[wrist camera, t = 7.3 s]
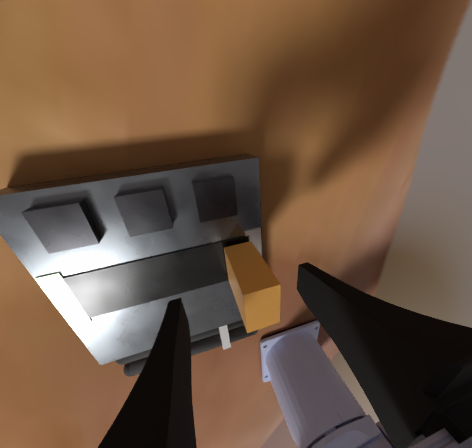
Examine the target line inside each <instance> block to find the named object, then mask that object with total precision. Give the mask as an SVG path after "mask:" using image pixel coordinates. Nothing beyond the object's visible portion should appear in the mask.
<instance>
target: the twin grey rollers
mask: <svg viewBox="0 0 472 448" xmlns="http://www.w3.org/2000/svg"><path fill="white" fill-rule="evenodd" d="M257 331H258V330H256V331H253V332H250V333H247V331H246V328H245V326H244V323H243V320H240V321H237V322H234V323H231V324H228V325H225V326H222V327H218V328H215V329H212V330H209V331H206V332H203V333H200V334H197V335H193V336H190V338H191V356H193V355H196V354H198V353H201V352H204V351H207V350H210V349H213V348H216V347H219V346H223V350H224V349H227V348H230V347H231V345H230V343H231V342H234V341H237V340H240V339H243V338H246V337H249V336H251V335H254V334H256V333H257ZM150 351H151V349H150V350H146V351H143V352H140V353H137V354H134V355H131V356H128V357H125V358H121V359H118V360H116V362H117V363H118V364H121V365H123V364H125V366H124V373H125V375H127V376H134V375H137V374H140V373H141V371H142V369H143V367H144V365H145V363H146V360H147V358H148V356H149V354H150Z"/></svg>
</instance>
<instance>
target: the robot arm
mask: <svg viewBox="0 0 472 448" xmlns="http://www.w3.org/2000/svg"><path fill="white" fill-rule="evenodd" d="M297 290H298V292H299V294H300V295H301V297H302V299H303V300H304V302H305V304H306V305H307V307H308V308H309V309H310V311H311V312H312V313H313V315H314V316H315V317H316V319H317V320H318V321H313V322H310V323H307V324H304V325H302V326H299V327H296V328H293V329H290V330H287V331H284V332H281V333H279V334H276V335H273V336H270V337H267V338H264V339H262V340H261V341H260V349H261V366H262V380H263V382H268V381H271V384H272V386H273V389H274V391H275V394H276V397H277V399H278V402H279V405H280V407H281V410H282V413H283V415H284V418H285V421H286V423H287V426H288V429H289V431H290V433H291V436H292V437H293V439H294V441H295V442H296V444H297V446H298V448H472V328H470V327H466V326H461V325H458V324H454V323H450V322H446V321H442V320H439V319H435V318H432V317H429V316H425V315H422V314H419V313H416V312H413V311H410V310H407V309H404V308H401V307H398V306H395V305H393V304H390V303H388V302H385V301H383V300H380V299H378V298H376V297H373V296H371V295H369V294H366V293H364V292H362V291H360V290H358V289H356V288H354V287H352V286H350V285H348V284H346V283H344V282H342V281H340V280H338V279H337V278H335V277H333V276H331V275H329V274H327V273H326V272H324V271H322V270H320V269H319V268H317V267H315V266H313V265H311V264H309V263H308V262H307V263H304V264H300V265H299V267H298V280H297ZM320 324H321V325H322V327H323V328H324V329H325V330H326V332H327V333H328V334H329V336H330V337H331V339H332V340H333V341H334V343H335V344H336V346H337V347H338V349H339V351H340V352H341V354H342V355H343V357H344V359H345V360H346V362H347V363H348V365H349V367H350V368H351V370H352V372H353V373H354V375H355V377H356V379H357V380H358V382H359V384H360V386H361V387H362V389H363V391H364V392H365V394H366V396H367V398H368V399H369V401H370V403H371V405H372V407H373V409H374V411H375V413H376V415H377V416H378V418H379V420H380V421H379V422H377V423H376V424H375V422H374V421H373V419H372V418H371V416H370V415H366V414H365V412H364V411H363V409H362V408H361V406H360V405H359V403H358V402H357V400H356V399H355V397H354V396H353V394H352V393H351V391H350V390H349V388H348V387H347V385H346V384H345V382H344V381H343V379H342V378H341V376H340V375H339V373H338V372H337V370H336V369H335V367H334V366H333V364H332V363H331V361H330V360H329V358H328V357H327V355H326V354H325V352H324V351H323V349H322V348H321V346H320V345H319V343H318V342H317V340H318V334H319V328H320ZM98 448H196V438H195V427H194V417H193V406H192V389H191V338H190V329H189V321H188V318H187V315H186V312H185V309H184V306H183V303H182V299H181V298H178V299H174V300H170V301H169V302H168V304H167V308H166V312H165V315H164V318H163V321H162V324H161V326H160V329H159V332H158V334H157V337H156V339H155V342H154V344H153V347H152V349H151V351H150V354H149V356H148V358H147V360H146V363H145V365H144V367H143V369H142V371H141V373H140V375H139V377H138V379H137V381H136V383H135V385H134V387H133V389H132V391H131V392H130V394H129V396H128V398H127V400H126V401H125V403H124V405H123V407H122V409H121V410H120V412H119V414H118V416H117V417H116V419H115V421H114V422H113V424H112V426H111V427H110V429H109V430H108V432H107V434H106V435H105V437H104V438H103V440H102V442H101V443H100V445H99V446H98Z"/></svg>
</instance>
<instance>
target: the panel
mask: <svg viewBox="0 0 472 448" xmlns="http://www.w3.org/2000/svg"><path fill="white" fill-rule="evenodd" d="M0 235H1V236H2V237H3V239H4V240H5V241H6V243H7V244H8V245H9V247H10V248H11V249H12V250H13V252H14V253H15V254H16V256H17V257H18V258H19V260H20V261H21V262H22V263H23V265H24V266H25V267H26V269H27V270H28V271H29V273H30V274H31V275H32V277H33V278H34V279H35V280H36V282H37V283H38V284H39V286H40V287H41V288H42V290H43V291H44V292H45V293H46V295H47V296H48V297H49V299H50V300H51V301H52V303H53V304H54V305H55V306H56V308H57V309H58V310H59V312H60V313H61V314H62V316H63V317H64V318H65V319H66V321H67V322H68V323H69V325H70V326H71V327H72V329H73V330H74V331H75V332H76V334H77V335H78V336H79V338H80V339H81V340H82V342H83V343H84V344H85V345H86V347H87V348H88V349H89V351H90V352H91V353H92V355H93V356H94V357H95V359H96V360H97V361H98V362H99V364H100V365H103V364H106V363H109V362H112V361H115V360H118V359H121V358H125V357H128V356H131V355H134V354H137V353H140V352H143V351H146V350H150V349H152V347H153V344H154V342H155V339H156V337H157V334H158V332H159V329H160V326H161V324H162V321H163V318H164V315H165V312H166V308H167V304H168V302H169V301H170V300H174V299H178V298H181V299H182V303H183V306H184V309H185V312H186V315H187V318H188V321H189V329H190V336H193V335H197V334H200V333H203V332H206V331H209V330H212V329H215V328H218V327H222V326H225V325H228V324H231V323H234V322H237V321H240V320H242V317H241V314H240V311H239V308H238V306H237V303H236V300H235V297H234V294H233V291H232V289H231V286H230V283H229V280H228V273H227V266H226V259H225V252H224V247H228V246H233V245H237V244H241V243H245V242H250V241H252V243H253V244H254V246H255V247H256V249H257V250H258V252H259V253H260V255H261V256H262V228H261V200H260V172H259V157H256V156H253V155H251V154H242V155H235V156H228V157H221V158H214V159H207V160H200V161H192V162H185V163H178V164H171V165H164V166H157V167H150V168H143V169H135V170H128V171H121V172H114V173H107V174H100V175H93V176H86V177H79V178H71V179H64V180H57V181H50V182H43V183H36V184H29V185H22V186H14V187H7V188H4V189H1V190H0ZM262 258H263V256H262Z"/></svg>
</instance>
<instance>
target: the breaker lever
mask: <svg viewBox="0 0 472 448" xmlns="http://www.w3.org/2000/svg"><path fill="white" fill-rule="evenodd" d="M224 252H225V259H226V266H227V273H228V280H229V283H230V286H231V289H232V291H233V294H234V297H235V300H236V303H237V306H238V308H239V311H240V314H241V317H242V320H243V323H244V326H245V328H246V331H247V333H250V332H253V331H256V330H259V329H262V328H265V327H268V326H271V325H273V324H276V323H279V322H280V286H281V284H280V283H279V281H278V280H277V278H276V277H275V276H274V274H273V273H272V271H271V270H270V268H269V267H268V265H267V264H266V262H265V261H264V259H263V258H262V256H261V255H260V253H259V252H258V250H257V249H256V247H255V246H254V244H253V243H252V241H250V242H245V243H241V244H237V245H233V246H228V247H224Z"/></svg>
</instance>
